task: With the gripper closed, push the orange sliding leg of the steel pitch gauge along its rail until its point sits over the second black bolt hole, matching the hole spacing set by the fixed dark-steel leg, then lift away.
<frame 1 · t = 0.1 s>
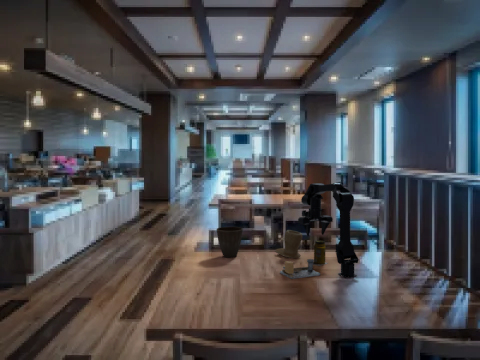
hand: (315, 235, 233), 15 cm above the table, tool pointing down, fingers open, 9 cm apart
condiment: (318, 263, 231), on the table
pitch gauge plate: (299, 274, 211), on the table
plant pot: (229, 256, 247), on the table
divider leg: (288, 266, 209), point 4 cm above the table, slide at 4.0 cm
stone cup: (289, 256, 247), on the table
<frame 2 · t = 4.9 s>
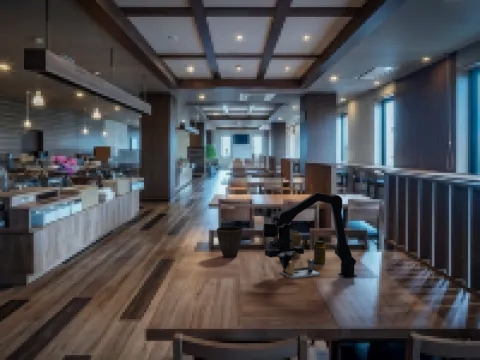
hand: (284, 269, 207), 3 cm above the table, tool pointing down, fingers closed
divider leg: (289, 266, 209), point 4 cm above the table, slide at 3.5 cm, touching gripper
everything else where it was.
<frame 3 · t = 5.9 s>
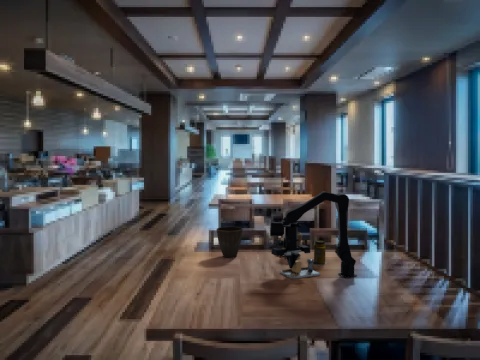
hand: (290, 268, 208), 3 cm above the table, tool pointing down, fingers closed
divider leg: (295, 266, 211), point 4 cm above the table, slide at -0.1 cm, touching gripper
everything else where it was.
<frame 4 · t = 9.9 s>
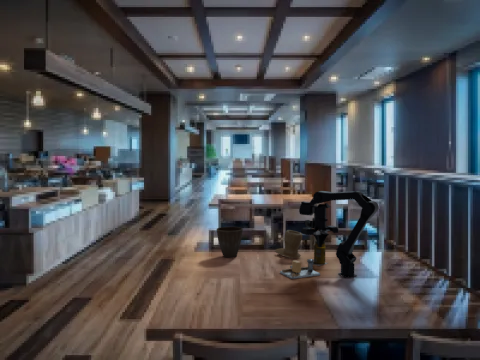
hand: (319, 247, 216), 12 cm above the table, tool pointing down, fingers closed
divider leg: (295, 266, 211), point 4 cm above the table, slide at -0.1 cm
everything else where it was.
at the end: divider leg slide at -0.1 cm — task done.
